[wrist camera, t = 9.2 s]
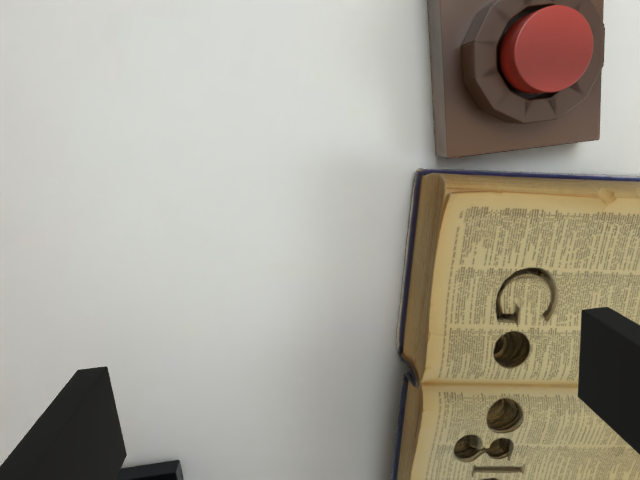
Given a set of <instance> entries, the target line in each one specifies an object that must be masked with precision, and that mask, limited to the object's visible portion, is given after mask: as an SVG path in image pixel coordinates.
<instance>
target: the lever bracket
mask: <svg viewBox="0 0 640 480" xmlns="http://www.w3.org/2000/svg"><path fill="white" fill-rule="evenodd" d="M115 480H183V475H182V470H181V466H180V461H179V460H176V461H169V462H163V463H156V464H150V465H143V466H136V467H130V468H123V469H120V471H119V473H118V475H117V477H116V479H115Z"/></svg>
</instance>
